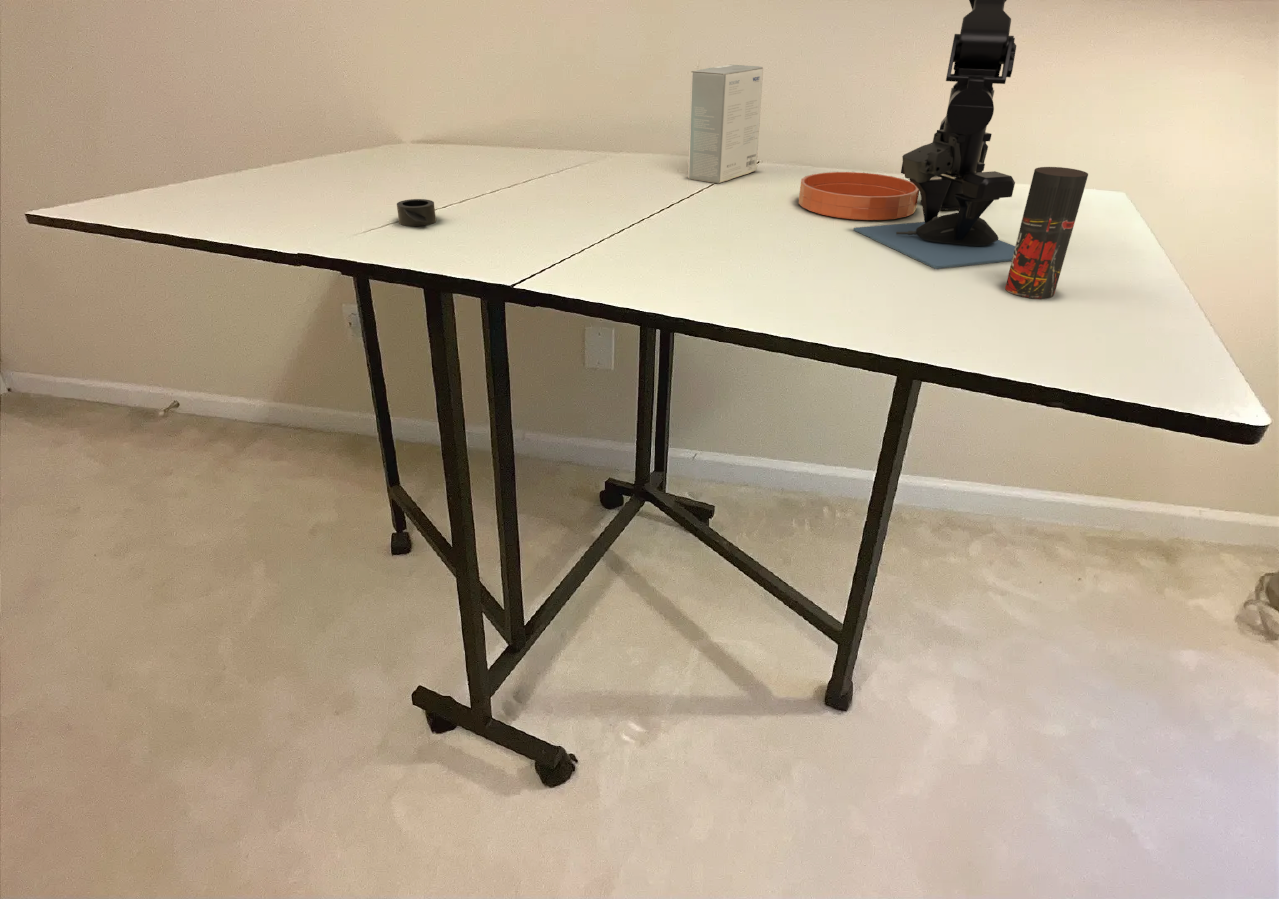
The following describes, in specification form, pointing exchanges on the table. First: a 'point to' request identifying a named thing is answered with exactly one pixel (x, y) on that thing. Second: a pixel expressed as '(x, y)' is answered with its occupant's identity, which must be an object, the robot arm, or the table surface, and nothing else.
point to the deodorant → (1045, 231)
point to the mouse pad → (937, 247)
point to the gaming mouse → (954, 231)
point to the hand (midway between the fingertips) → (943, 233)
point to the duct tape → (416, 212)
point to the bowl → (858, 195)
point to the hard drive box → (724, 122)
